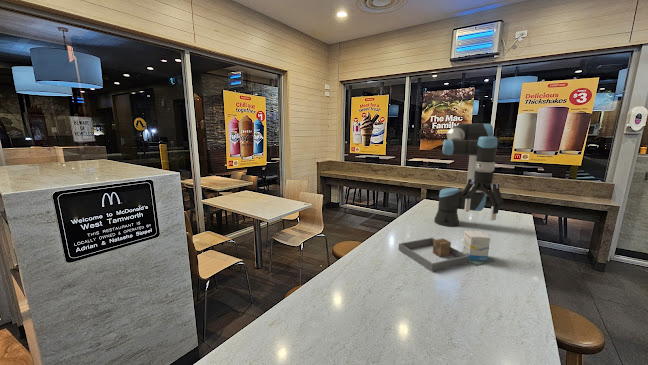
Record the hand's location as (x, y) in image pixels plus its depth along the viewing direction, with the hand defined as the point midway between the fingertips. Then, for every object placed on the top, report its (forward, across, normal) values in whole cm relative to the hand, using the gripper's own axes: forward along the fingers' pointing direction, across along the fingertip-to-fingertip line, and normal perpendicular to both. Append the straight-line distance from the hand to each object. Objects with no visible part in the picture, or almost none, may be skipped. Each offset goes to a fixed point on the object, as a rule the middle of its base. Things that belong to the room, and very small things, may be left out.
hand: (479, 215), depth 127 cm
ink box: (+21, 0, 0) cm, 21 cm away
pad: (+21, 0, 0) cm, 21 cm away
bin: (+21, -9, -18) cm, 29 cm away
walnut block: (+21, -9, -12) cm, 26 cm away
